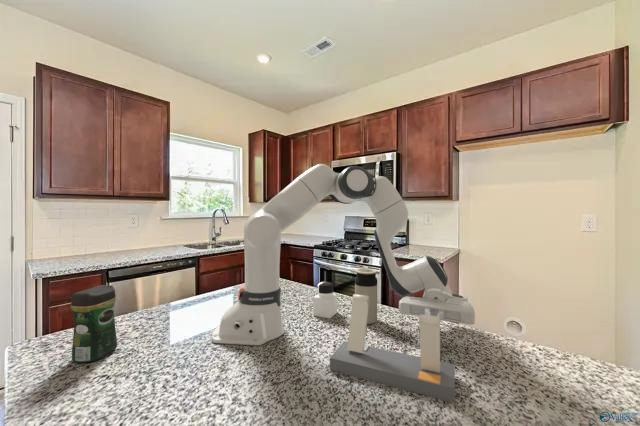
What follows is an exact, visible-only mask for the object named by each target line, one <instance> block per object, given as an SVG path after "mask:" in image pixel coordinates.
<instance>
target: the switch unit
mask: <svg viewBox="0 0 640 426" xmlns="http://www.w3.org/2000/svg"><path fill="white" fill-rule="evenodd" d="M347 347H348V341H345V340H344V341H342V343H341V344H340V345H339V346H338V348H337V349H336V350H335V351H334V352H333V353H332V354H331V356H330V357H329V370H330V371H332V372H336V373H341V374H344V375H348V376H352V377H356V378H359V379H364V380H367V381H370V382H374V383H379V384H381V385H386V386H390V387H393V388H397V389H400V390H404V391H408V392H412V393H416V394H420V395H424V396H427V397H431V398H434V399H439V400H443V401H446V402H449V403H453V404H455V402H456V399H455V397H456V388H455V387H456V384H455V383H456V382H455V381H456V378H455V375H456V374H455V373H456V372H455V371H456V370H455V368H456V365H455V364H456V363H455V364H454V363H450V362H445V361H441V360H440V373H438V372H434V371H429V370H425V369H421V356H416V355H412V354H408V353H402V352H397V351H394V350H389V349H384V348H379V347H374V346H370V345H369V344H366V343H365V347H364V353H360V352H355V351H351V350H347Z"/></svg>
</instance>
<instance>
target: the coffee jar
mask: <svg viewBox="0 0 640 426" xmlns="http://www.w3.org/2000/svg"><path fill="white" fill-rule="evenodd" d="M116 300H117V296H116V289H115V287H114V286H113V285H109V284H108V285H107V284H100V285H97V286H96V285H95V286H93V287H90V288H86V289H84V290H80V291H76V292H74V293H73V294H72V295H71V303H70V308H71V311H72V314H73V319H74V321H73V336H72V337H73V338H72V339H73V340H72V347H71V360H72V361H73V362H75V363H77V364H78V363H80V364H85V363H90V362H95V361H98V360H100V359H102V358H103V357H105V356H107V355H108V354H110V353H111V352H113V351H114V350H116V349H117V347H118V339H117V331H116V322H115V303H116Z"/></svg>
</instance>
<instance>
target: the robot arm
mask: <svg viewBox="0 0 640 426" xmlns="http://www.w3.org/2000/svg"><path fill="white" fill-rule="evenodd" d="M328 196H329V197H330V198H332V199H333V200H335V201H336V202H338V203H340V204H345V205H349V204H352V203H354V202H357V201H359V200H361V201H363V202H364V203H366V204H367V206H368V207H369V208H370V211H371V213H372V214H373V216H374V219H375V222H376V227H375V229H374V231H373V236H374V240H375V243H376V246H377V249H378V252H379V254H380V258H381V260H382V262H383V266H384V269H385V272H386V275H387V279H388V282H389V286H390V288H391V290H392V291H393V293H394V295H397V296H400V297H402V298H401V299H400V300H398V312H399V313H400V314H402V315H409V316H413V317H419V316H420V314H423V315H429V316H436V317H440V322H441V321H446V322H452V323H458V324H463V325H474V324H475V321H476V312H475V309H474V307H473V305H472V303H470V302H469V300H468V298H467V297H466V296H462V295H459V294H455V293H453V292H452V290H451V288H450V286H449V285H448V282H449V278H448V275H447V273H446V270H445V269H444V266H442V264H441V262H439V261H438V260H437V259H436V258H434V257H432V256H430V255H425V256H423V257H421V258H418V259H416V260H414V261H412V262H410V263H407V264H405V265H402V266H399V265H398V264H397V261H396V258H395V255H394V253H393V250H392V247H391V246H392V245H391V243H392V240H393V239H394V238H395V237H396V236H397V234H398V233H400V232H401V230H402V229H403V228H404V226H405V225H406V223H407V222H408V219H409V211H408V208H407V205H406V203H405V201H404V200H403V198H402V196H401V195H400V193H399V191H398V190H397V188H396V187H395V185H394V184H393V183H392V182H391V181H390V179H389V178H387V177H386V176H382V175H381V176H380V175H378V176H375V175H373V174H372V173H370V172H369V171H368V170H367V169H366V168H364V167H362V166H360V165H359V166H358V165H353V166H348V167H346V168H344V169H343V170H342V171H341V172H335V171H334V170H333V169H332V168H331V167H330V166H329V165H327V164H324V163H317V164H316V165H314V166H312V167H310V168H309V169H307V170H306V171H304V172H302V173H301V174H300V175H299V176H297V177H296V178H295V179H294V180H292V181H291V182H290V183H289V184H288V185H287V186H285V187H284V188H283V189H282V190H281V191H280V192H278V193H277V194H276V195H275V196H273V197H272V198H271V199H270V200H269V201H267V202H266V203H265V204H264V205H263V206H261V207H260V208H259V209H258V210H256V211H255V212H253V214H252V215H251V216H250V217H248V219H247V220H246V222H245V223H244V227H243V245H244V247H243V249H244V286H241V287H240V288H239V290H238V295H237V297H238V298H237V299H238V301H237V302H235V303H234V304H233V305H232V306H230V307H229V308H228V309H226V311H224V313H223V315H222V316H221V318H220V322H219V325H217V327H216V328H215V329H214V330H213V332H212V335H211V341H212V342H213V343H214V344H228V345H230V344H231V345H244V346H245V345H246V346H247V345H248V346H262V345H263V344H266V343H267V342H269V341H273V340H275V339H277V338H279V337H281V336H282V335H283V334H284V333H285V326H284V323H283V318H282V311H281V310H282V309H281V305H282V289H281V286H280V266H281V265H280V263H281V259H280V258H281V244H282V243H281V241H282V237H281V236H282V233H283V232H284V231H286V230H287V229H288V228H289V227H291V226H292V225H294V224H295V223H296V222H298V221H299V220H301V219H302V218H303V217H304V216H305V215H307V213H309V212H310V211H311V210H312V209H314V207H316V206H317V205H318V204H319V203H320V202H321V201H322V200H324V199H325V198H326V197H328ZM422 290H424V291H423V294H422V297H416V296H411V295H413V294H414V293H417V292H420V291H422Z"/></svg>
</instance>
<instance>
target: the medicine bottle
mask: <svg viewBox="0 0 640 426" xmlns="http://www.w3.org/2000/svg"><path fill="white" fill-rule="evenodd" d="M312 299H313V300H312V304H313V306H312V310H313V311H312V313H313V314H312V315H313V317H318V318H325V319H332V318H333V317H334V316H335V315H336V314H337V313H338V294H335V293H334V283H332V282H330V281H321V282H319V283H318V284H317V294H316V295H315V296H313V297H312Z"/></svg>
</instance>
